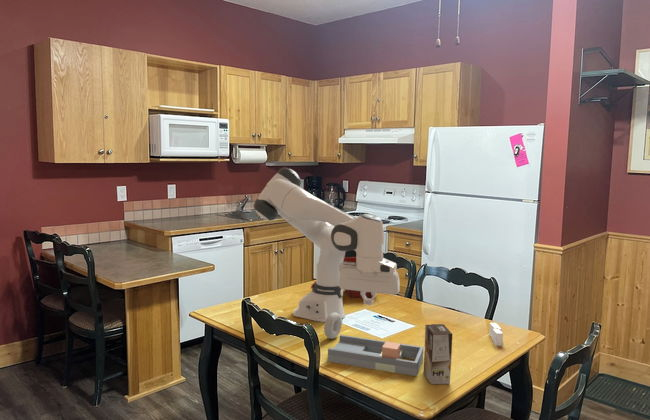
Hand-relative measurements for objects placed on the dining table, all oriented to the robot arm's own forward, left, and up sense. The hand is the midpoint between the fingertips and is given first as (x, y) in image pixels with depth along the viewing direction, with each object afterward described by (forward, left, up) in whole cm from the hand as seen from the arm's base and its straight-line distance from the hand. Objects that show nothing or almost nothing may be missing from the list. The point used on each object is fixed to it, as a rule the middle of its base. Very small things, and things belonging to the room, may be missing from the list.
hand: (368, 304), depth 165 cm
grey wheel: (-18, +16, -21) cm, 31 cm away
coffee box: (+23, -3, -21) cm, 31 cm away
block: (+8, -1, -18) cm, 20 cm away
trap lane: (+2, +3, -20) cm, 21 cm away
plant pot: (-24, +76, -21) cm, 82 cm away
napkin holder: (+40, +37, -21) cm, 59 cm away
